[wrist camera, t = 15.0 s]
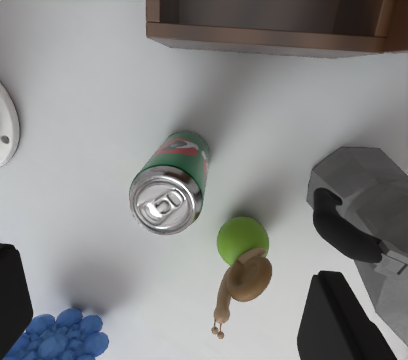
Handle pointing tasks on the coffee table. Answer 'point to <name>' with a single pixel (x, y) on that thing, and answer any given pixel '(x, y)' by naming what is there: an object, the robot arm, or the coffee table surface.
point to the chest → (273, 26)
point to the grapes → (61, 338)
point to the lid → (398, 30)
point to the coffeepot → (367, 224)
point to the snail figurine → (241, 265)
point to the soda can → (171, 185)
